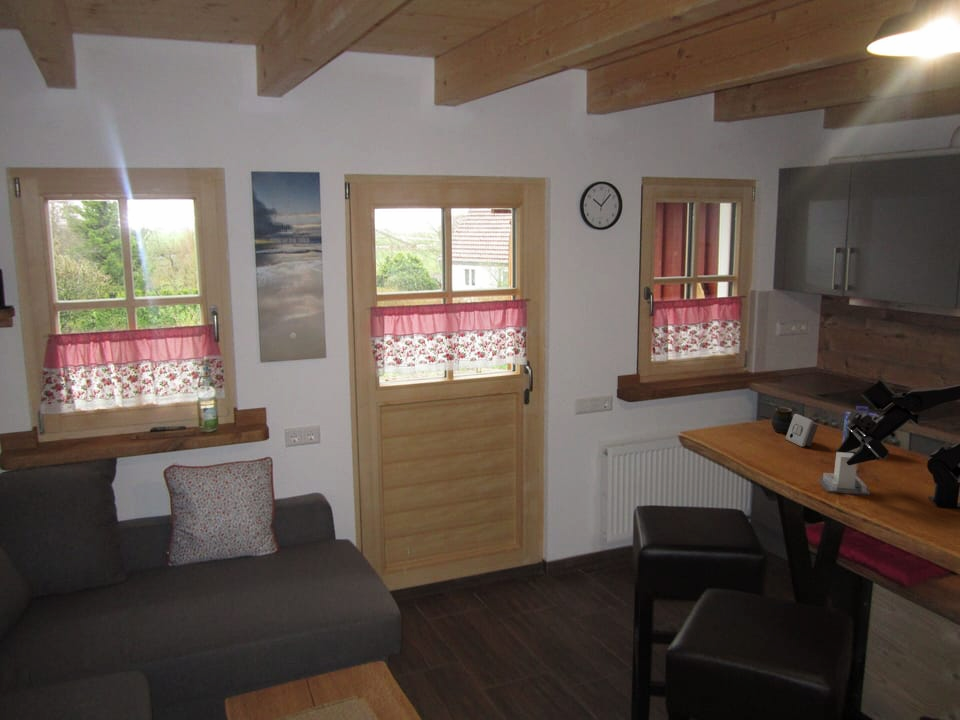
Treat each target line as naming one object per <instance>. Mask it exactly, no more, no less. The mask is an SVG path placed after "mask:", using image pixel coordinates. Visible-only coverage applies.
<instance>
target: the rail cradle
mask: <svg viewBox="0 0 960 720" xmlns="http://www.w3.org/2000/svg"><path fill="white" fill-rule="evenodd" d="M817 481H818V482H819V483H820V484H821V486H822V487H823V488H824V489H825V490H826V493H830V494H831V493H834V494H847V495H848V494H849V495H850V494H851V495H862V496H864V495H865V496H866V495H867V496H870V495H871V492H870V491H869V490H868V488H867V484H865V482H863V479H861V478H860V477H859V476H858V475H857V474H856V479H855V488H854V489H847V488H837V483H836V482H835V481H834V472H823V473H822V478H820V477H819V478H817Z"/></svg>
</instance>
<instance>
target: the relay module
mask: <svg viewBox="0 0 960 720" xmlns="http://www.w3.org/2000/svg"><path fill="white" fill-rule="evenodd" d="M835 453H836V454H835V462H834V470H833V471H834V472H833V473H834V481H835V482H836V483H837V488H847V489H854V488H855V479H856V475H857V471H858V469H859V465H860V463H858V464H854V465H848V464H847V463H846V462H847V461H848V460H849V459H850V458H851V457H852V456H853V455H854V454H855V453H854V452H846V453H843V452H836V451H835Z"/></svg>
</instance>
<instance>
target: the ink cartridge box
mask: <svg viewBox="0 0 960 720" xmlns="http://www.w3.org/2000/svg"><path fill="white" fill-rule="evenodd" d="M860 409H864V410H860ZM856 411H858V412H860V413H862V414H865V413H866V414H867V415H870V416H871V417H873V416H877V417H879V416H880V415H878V414H877V413H873V412H869V406H864V405H856ZM851 412H852V411H851ZM851 412H850V411H845V412H844V423H843V432H842V433H843V434H842V442H841V444H842V443H843V442H844V440H845V438H846V437H847V430H846V429H847V428H848V429H850V428H849V427H848V426H847V425H848V424H849V423H850V420H848V419H847V418H848V416H849V415H850V413H851ZM860 442H861V440H860ZM865 444H866V445H867V443H865ZM859 449H860V447H858V448H856V449H853V450H851V451H849V452H848V453H856V452H857V451H858V450H859Z"/></svg>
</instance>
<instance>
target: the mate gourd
mask: <svg viewBox="0 0 960 720" xmlns="http://www.w3.org/2000/svg"><path fill="white" fill-rule="evenodd" d="M774 406H775V411H774V412H775V413H774V414H773V417H772V420H771V427H772V428H773V430H774V431H775V432H777V433H779V434H787V433H788V430H789V427H790V424H791V422H792V419H793V416H792V415H793V409H791V408H789V407H788V408H787V407H784V406H783V407H778V406H777V404H775V405H774Z"/></svg>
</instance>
